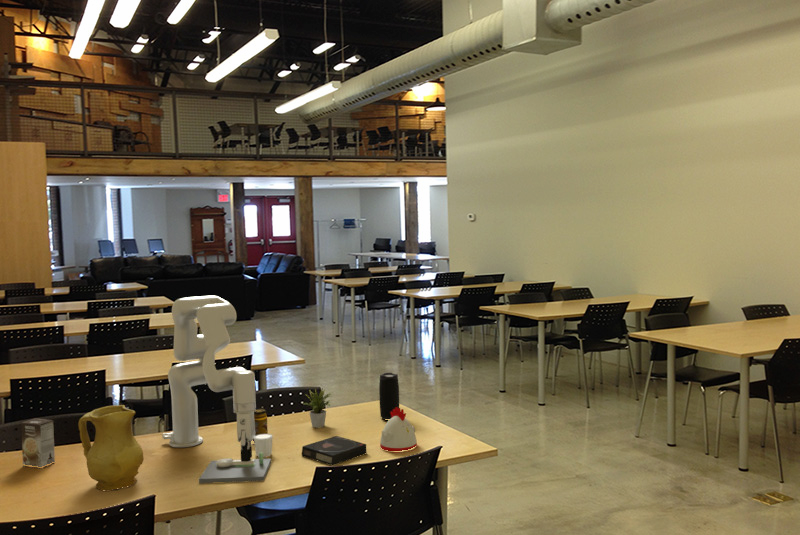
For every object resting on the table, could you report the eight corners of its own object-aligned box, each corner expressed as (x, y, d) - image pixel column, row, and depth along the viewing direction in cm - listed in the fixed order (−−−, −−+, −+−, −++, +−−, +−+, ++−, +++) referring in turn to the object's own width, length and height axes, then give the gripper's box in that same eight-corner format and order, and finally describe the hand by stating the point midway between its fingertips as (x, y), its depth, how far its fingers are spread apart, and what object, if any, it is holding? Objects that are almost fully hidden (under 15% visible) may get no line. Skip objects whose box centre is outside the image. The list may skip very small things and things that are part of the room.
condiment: (272, 440, 267) (271, 410, 266) (253, 445, 261) (252, 414, 260) (262, 436, 272) (261, 407, 271) (243, 441, 266) (242, 411, 265)
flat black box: (301, 457, 246) (301, 446, 246) (336, 446, 259) (336, 435, 258) (331, 467, 235) (331, 456, 235) (366, 454, 247) (366, 444, 247)
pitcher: (109, 497, 210) (106, 418, 209) (74, 487, 220) (70, 411, 219) (155, 480, 225) (152, 406, 224) (120, 470, 235) (117, 399, 233)
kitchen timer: (396, 455, 245) (395, 414, 245) (372, 446, 256) (371, 407, 255) (424, 446, 254) (423, 407, 254) (400, 438, 265) (399, 401, 264)
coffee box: (21, 466, 241) (19, 422, 240) (36, 461, 247) (34, 417, 246) (41, 469, 238) (39, 424, 237) (56, 463, 244) (54, 419, 243)
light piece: (214, 467, 230) (214, 449, 230) (218, 462, 236) (218, 444, 235) (252, 466, 230) (251, 447, 230) (255, 460, 236) (254, 442, 236)
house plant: (333, 431, 276) (332, 392, 275) (300, 432, 276) (298, 392, 276) (337, 422, 290) (336, 384, 290) (305, 422, 291) (304, 385, 290)
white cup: (257, 459, 244) (256, 440, 244) (252, 453, 250) (251, 435, 250) (275, 455, 247) (275, 437, 247) (270, 450, 253) (269, 432, 253)
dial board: (198, 483, 221) (198, 466, 221) (211, 464, 239) (211, 449, 238) (263, 480, 222) (263, 464, 222) (271, 462, 240) (270, 447, 239)
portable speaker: (381, 422, 289) (379, 376, 288) (379, 416, 298) (378, 372, 297) (400, 421, 290) (399, 375, 289) (398, 415, 299) (397, 371, 298)
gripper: (252, 412, 225) (254, 466, 225) (258, 400, 241) (260, 451, 241) (229, 413, 224) (231, 467, 225) (237, 401, 240) (239, 452, 241)
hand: (246, 458), depth 233 cm, fingers closed on light piece, 2 cm apart
